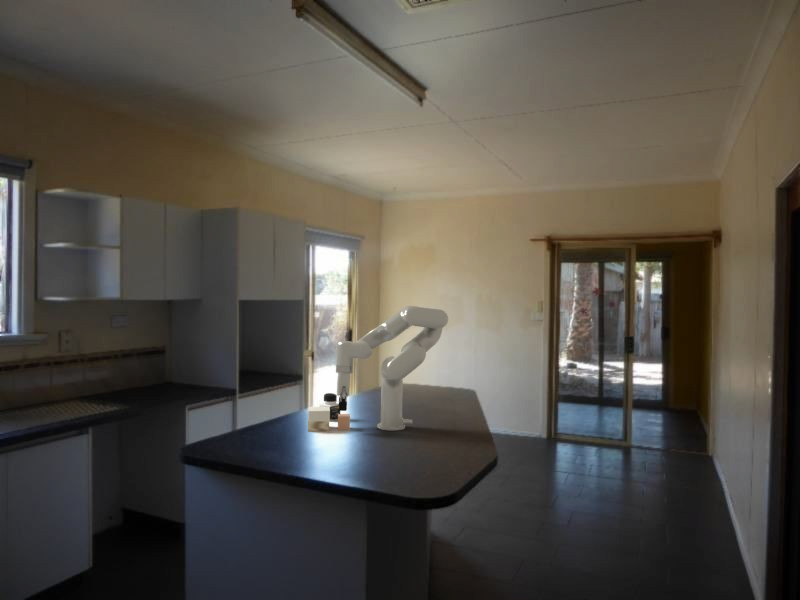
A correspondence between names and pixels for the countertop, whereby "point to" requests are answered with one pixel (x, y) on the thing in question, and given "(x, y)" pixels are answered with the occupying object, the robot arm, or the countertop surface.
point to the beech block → (318, 426)
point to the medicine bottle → (331, 405)
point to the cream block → (319, 414)
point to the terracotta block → (343, 421)
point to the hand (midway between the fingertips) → (342, 408)
